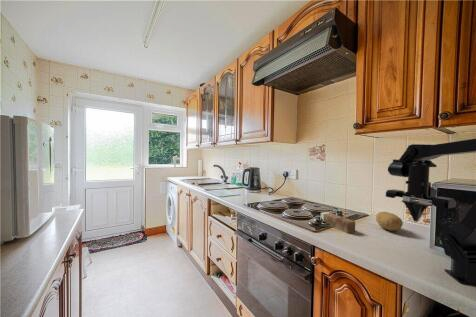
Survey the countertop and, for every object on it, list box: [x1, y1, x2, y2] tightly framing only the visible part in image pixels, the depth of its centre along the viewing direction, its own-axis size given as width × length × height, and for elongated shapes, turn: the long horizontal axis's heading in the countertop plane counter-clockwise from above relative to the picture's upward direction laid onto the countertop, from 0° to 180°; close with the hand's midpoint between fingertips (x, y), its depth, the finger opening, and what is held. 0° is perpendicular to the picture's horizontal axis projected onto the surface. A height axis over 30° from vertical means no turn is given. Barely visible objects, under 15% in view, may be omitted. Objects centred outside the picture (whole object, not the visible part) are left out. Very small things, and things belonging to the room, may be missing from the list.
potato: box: [375, 211, 404, 232], centre depth 98 cm, size 10×14×8 cm
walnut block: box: [320, 211, 356, 234], centre depth 100 cm, size 5×5×16 cm
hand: (416, 221), depth 74 cm, fingers closed
